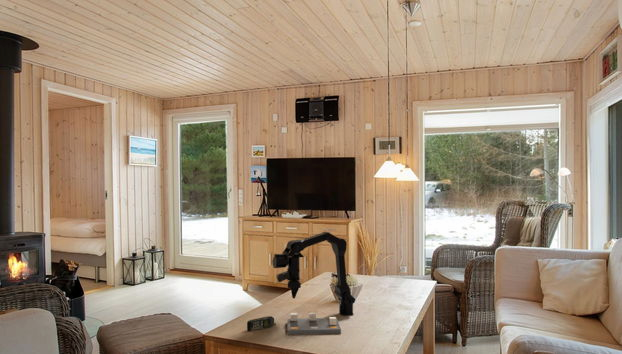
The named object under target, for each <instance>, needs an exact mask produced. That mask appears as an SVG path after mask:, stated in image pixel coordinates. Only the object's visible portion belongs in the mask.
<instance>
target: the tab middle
mask: <svg viewBox="0 0 622 354" xmlns="http://www.w3.org/2000/svg"><path fill="white" fill-rule="evenodd" d="M316 316H317V315H316V312H309V314H308V318H309V321H316V318H317V317H316Z"/></svg>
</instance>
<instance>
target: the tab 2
mask: <svg viewBox="0 0 622 354" xmlns="http://www.w3.org/2000/svg"><path fill="white" fill-rule="evenodd" d="M328 318H329V324H330V325H336V318H337V317H336V316H332V317H331V316H329V317H328Z"/></svg>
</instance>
